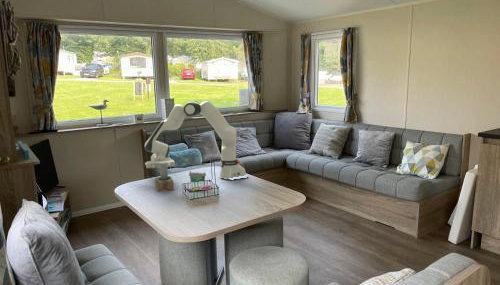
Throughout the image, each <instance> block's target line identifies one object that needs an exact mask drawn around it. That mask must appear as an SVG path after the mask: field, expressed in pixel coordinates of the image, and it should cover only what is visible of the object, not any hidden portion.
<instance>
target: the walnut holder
mask: <svg viewBox="0 0 500 285" xmlns="http://www.w3.org/2000/svg"><path fill="white" fill-rule="evenodd" d="M154 182H155V187H156V190H157V191H158V192H164V191H165V192H167V191H175V190H174V180H173V178H172V177H171V176H169V175H168V180H162V181H160V176H157V177H155V180H154Z"/></svg>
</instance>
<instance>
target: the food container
mask: <svg viewBox="0 0 500 285" xmlns="http://www.w3.org/2000/svg"><path fill="white" fill-rule="evenodd" d="M188 176H189V179H190V183H191V182H199V181H204V182H205V180H206V178H205V177H206V176H207V174H206V172H203V173H200V172H192V171H191V170H190V171H189V173H188Z"/></svg>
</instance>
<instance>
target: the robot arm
mask: <svg viewBox="0 0 500 285" xmlns="http://www.w3.org/2000/svg"><path fill="white" fill-rule="evenodd" d="M197 115H202V116H203V117H204V118H205V119H206V121H207V122H208V123H209V124H210V126H211V127H212V128H213V129H214V131H215V132H216V134H217V136H218V137H219V138H220V139H221V149H220V150H221V152H220V155H221V156H220V172H219V176H220V177H221V178H233V177H239V176H244V175H246V174H247V173H246V169H245V168H244V167H243V166H242V165H240V164H241V160H239V159H237V133H238V132H237V129H236V128H235V127H234V126H232V125H230V124H229V122H228V121H227V119H226V118H225V117H224V115H223V114H222V113H221V112H220V111H219V110H218V108H217V107H216V106H215V105H214V104H213V103H212V102H210V101H209V100H205V101H202V102H201V103H200V102H198V101H197V100H195V101H194V100H189V101H188V102H186V103H185V104H184V105H183V104H175V105H174V106H173V108H172V109H171V111H170V113H169V115H168V117H167V118H166V119H165V120H161V121H160V122H159V123H158V124H157V126H156V128H155V129H154V131H153V132H152V134H150V136H149V138H148V139H147V140H146V141H145V143H144V146H143V147H144V150H145V151H146V152H148V153H152V155H151V156H150V160H149V161H146V162H144V165H145V168H146V169H160V163H167V166H168V168H170V167H175V165H176V164H175V163H176V162H175V160H174V159H173V158H171V157H169V155H170V146H169V145H168V144H167V143H164V142H161V141H160V140H157V138H158V137H159V135H160V134H161V133H162V132H164V131H174V130H175V131H176V130H178V129H180V128H181V126H182V125H183V122H184V120H185V118H186V117H187V116H188V117H196V116H197ZM221 178H220V179H221Z"/></svg>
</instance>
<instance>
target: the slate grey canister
mask: <svg viewBox="0 0 500 285" xmlns="http://www.w3.org/2000/svg"><path fill="white" fill-rule="evenodd" d="M168 168H169V167H168V166H167V163H160V168H159V172H160V173H159V174H160V175H159V177H160V181H162V180H168V176H169V175H168V174H169V173H168Z"/></svg>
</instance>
